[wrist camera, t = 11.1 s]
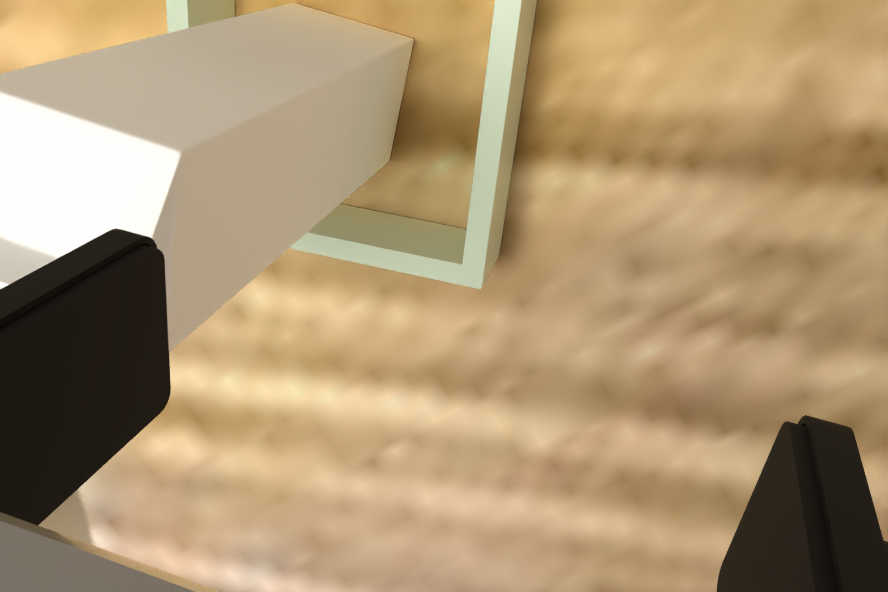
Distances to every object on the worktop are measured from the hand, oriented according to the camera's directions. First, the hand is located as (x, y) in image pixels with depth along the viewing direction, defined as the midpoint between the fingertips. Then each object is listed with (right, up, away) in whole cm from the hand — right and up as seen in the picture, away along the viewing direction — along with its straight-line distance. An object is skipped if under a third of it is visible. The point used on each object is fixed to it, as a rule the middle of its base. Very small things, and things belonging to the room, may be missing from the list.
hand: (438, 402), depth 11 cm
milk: (-5, +12, +25) cm, 28 cm away
